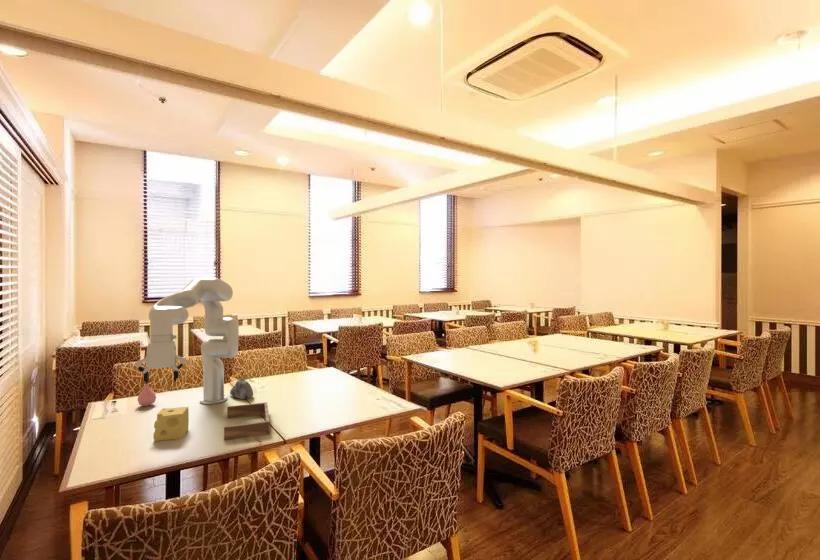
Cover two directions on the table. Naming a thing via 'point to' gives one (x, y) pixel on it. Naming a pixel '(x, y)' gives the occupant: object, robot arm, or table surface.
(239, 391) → the mineral rock
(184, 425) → the cheese
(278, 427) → the table surface
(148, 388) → the pink rounded piece
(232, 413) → the wooden u-shaped bracket
